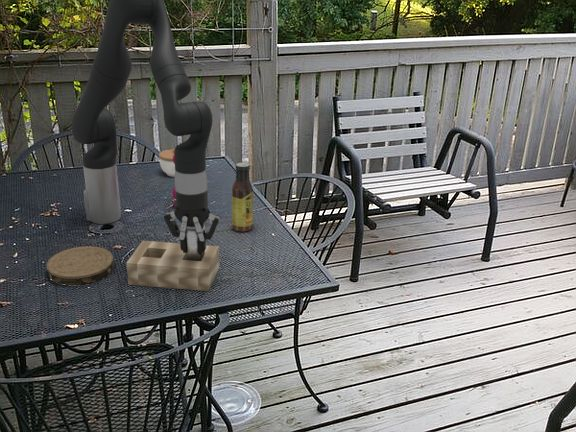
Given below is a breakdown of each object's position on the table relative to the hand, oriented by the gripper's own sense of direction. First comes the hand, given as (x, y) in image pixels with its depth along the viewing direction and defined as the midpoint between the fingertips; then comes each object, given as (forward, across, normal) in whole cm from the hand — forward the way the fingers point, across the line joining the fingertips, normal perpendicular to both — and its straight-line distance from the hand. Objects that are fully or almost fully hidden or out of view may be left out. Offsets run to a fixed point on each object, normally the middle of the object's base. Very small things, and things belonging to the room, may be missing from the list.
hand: (193, 251), depth 143 cm
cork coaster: (+8, -29, -1) cm, 30 cm away
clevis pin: (+4, 0, 0) cm, 4 cm away
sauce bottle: (+7, +7, +30) cm, 32 cm away
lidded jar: (+7, -25, +71) cm, 76 cm away
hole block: (+7, -5, 0) cm, 9 cm away
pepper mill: (+7, -14, +43) cm, 46 cm away
